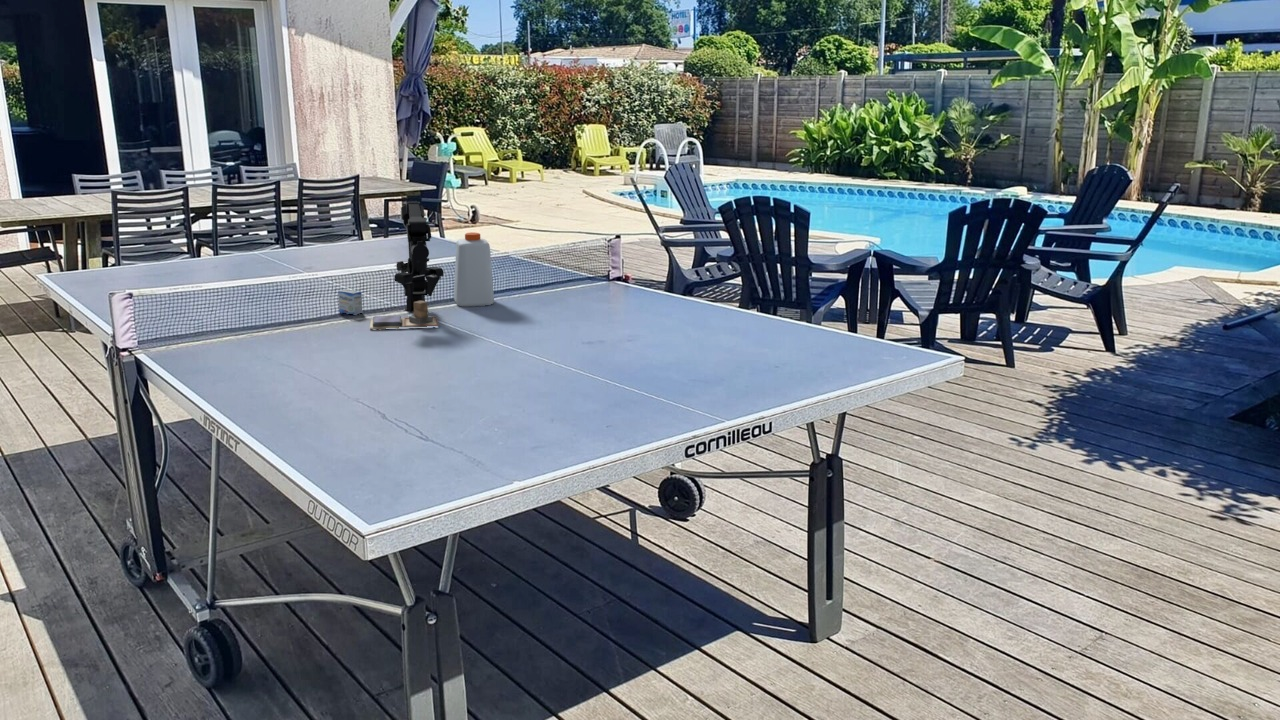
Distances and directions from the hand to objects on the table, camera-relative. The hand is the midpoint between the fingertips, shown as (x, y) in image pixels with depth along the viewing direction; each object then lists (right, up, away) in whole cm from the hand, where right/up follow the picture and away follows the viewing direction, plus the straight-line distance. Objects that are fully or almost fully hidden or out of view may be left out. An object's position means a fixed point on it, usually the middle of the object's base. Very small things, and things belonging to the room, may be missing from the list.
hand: (420, 297), depth 366 cm
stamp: (0, -9, +3) cm, 9 cm away
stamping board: (-6, -10, +2) cm, 12 cm away
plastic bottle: (+13, 0, +38) cm, 40 cm away
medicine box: (-30, -5, +16) cm, 34 cm away
